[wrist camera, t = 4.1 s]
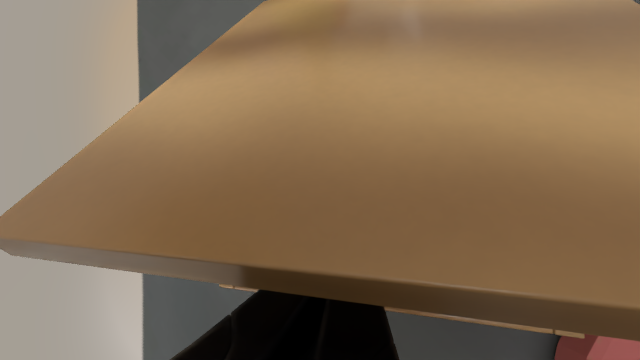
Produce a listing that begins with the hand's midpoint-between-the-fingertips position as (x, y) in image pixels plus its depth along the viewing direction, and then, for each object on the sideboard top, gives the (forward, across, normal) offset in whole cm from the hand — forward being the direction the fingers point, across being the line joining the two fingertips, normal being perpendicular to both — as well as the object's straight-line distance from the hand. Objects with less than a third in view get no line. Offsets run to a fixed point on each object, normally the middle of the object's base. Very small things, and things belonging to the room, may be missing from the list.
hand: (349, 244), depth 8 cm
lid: (+5, 0, -4) cm, 6 cm away
